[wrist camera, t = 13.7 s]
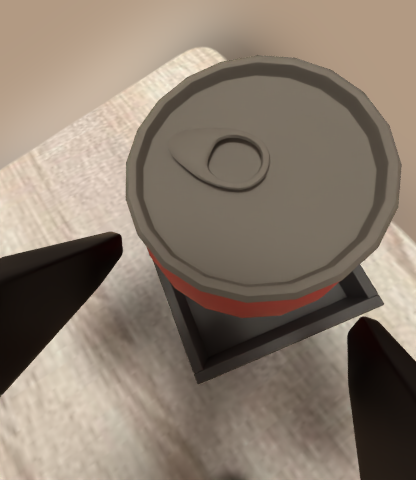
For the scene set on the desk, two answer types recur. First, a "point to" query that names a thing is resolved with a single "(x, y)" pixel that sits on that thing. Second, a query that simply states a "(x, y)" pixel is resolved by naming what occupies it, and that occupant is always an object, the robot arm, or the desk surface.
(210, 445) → the desk surface
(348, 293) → the metal tray
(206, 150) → the beer can
